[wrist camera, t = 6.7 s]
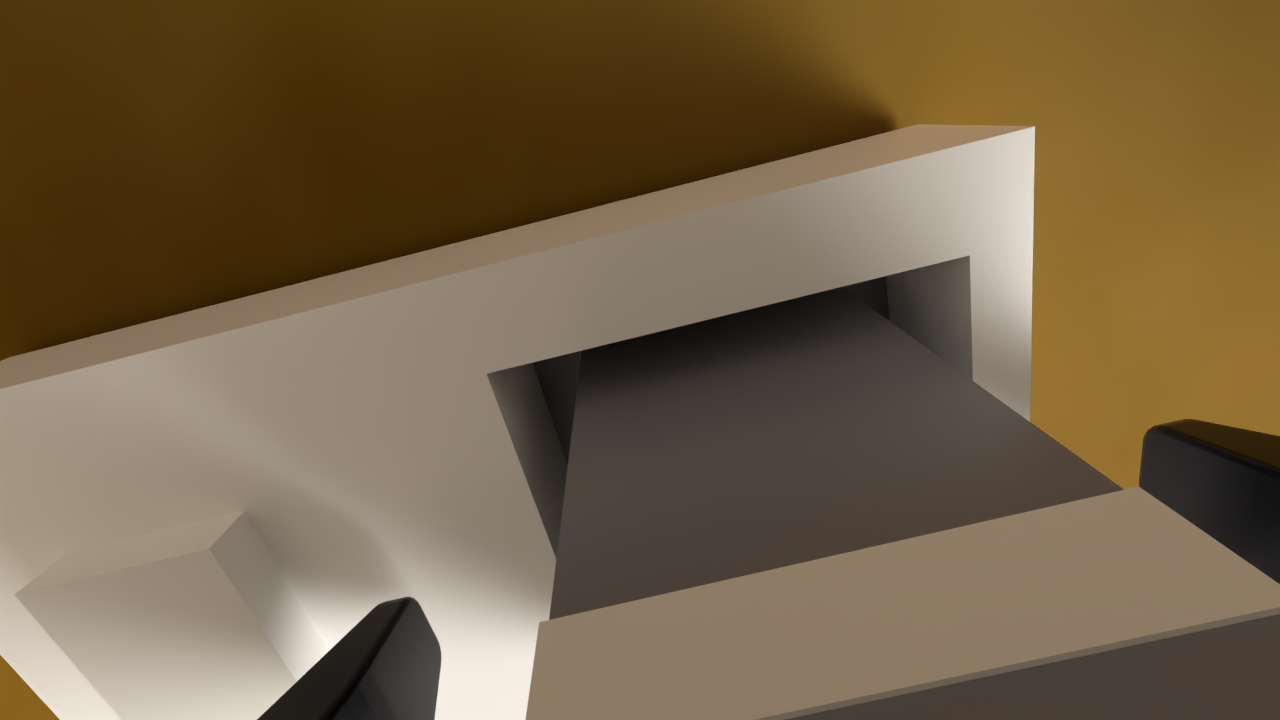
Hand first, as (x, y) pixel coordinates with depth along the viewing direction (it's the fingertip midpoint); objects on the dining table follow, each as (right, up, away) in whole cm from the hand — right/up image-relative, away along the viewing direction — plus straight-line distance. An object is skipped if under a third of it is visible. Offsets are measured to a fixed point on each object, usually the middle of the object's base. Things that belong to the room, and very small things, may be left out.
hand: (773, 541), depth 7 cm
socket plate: (-3, -1, +4) cm, 5 cm away
